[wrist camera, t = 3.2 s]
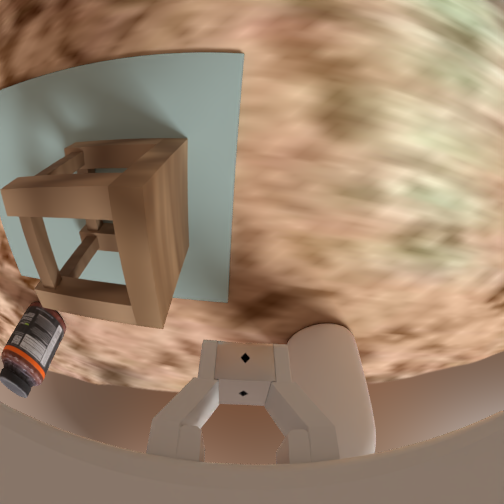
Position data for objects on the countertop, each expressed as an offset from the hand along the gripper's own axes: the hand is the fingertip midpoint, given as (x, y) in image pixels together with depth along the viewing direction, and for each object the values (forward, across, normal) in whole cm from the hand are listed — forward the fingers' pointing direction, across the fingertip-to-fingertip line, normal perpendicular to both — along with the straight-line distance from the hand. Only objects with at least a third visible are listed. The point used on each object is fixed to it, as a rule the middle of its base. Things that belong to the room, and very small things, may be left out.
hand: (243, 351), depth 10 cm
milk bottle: (+13, -9, +16) cm, 22 cm away
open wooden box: (+12, +9, 0) cm, 15 cm away
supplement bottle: (+14, +24, +16) cm, 32 cm away
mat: (+13, +13, 0) cm, 18 cm away
